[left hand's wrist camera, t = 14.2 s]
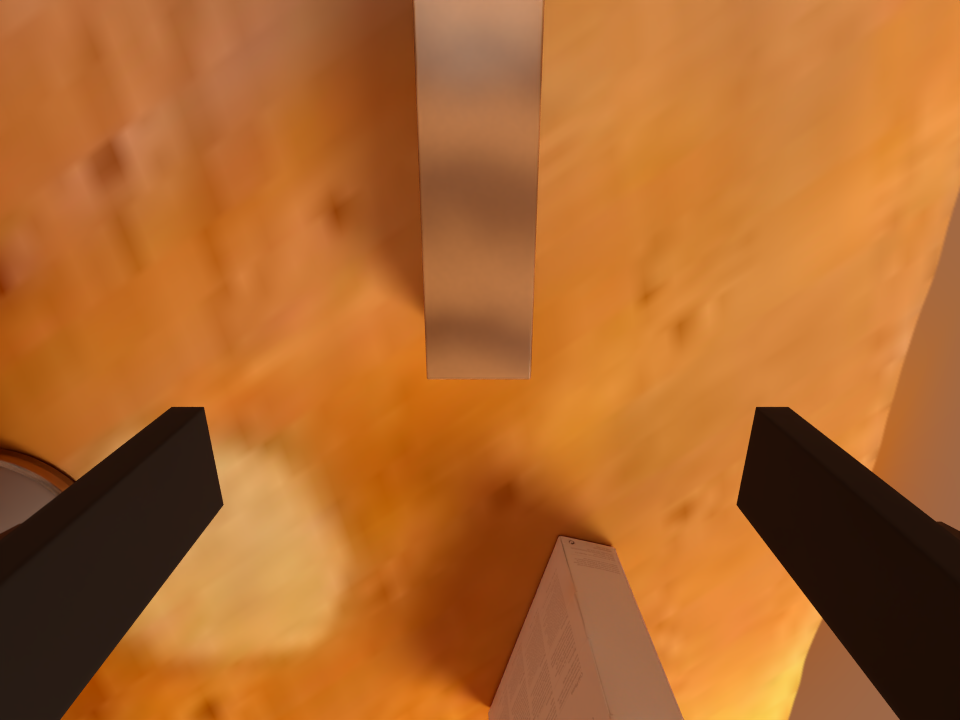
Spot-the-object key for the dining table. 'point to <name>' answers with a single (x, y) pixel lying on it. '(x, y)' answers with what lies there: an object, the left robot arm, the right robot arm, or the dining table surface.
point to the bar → (478, 181)
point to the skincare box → (584, 647)
